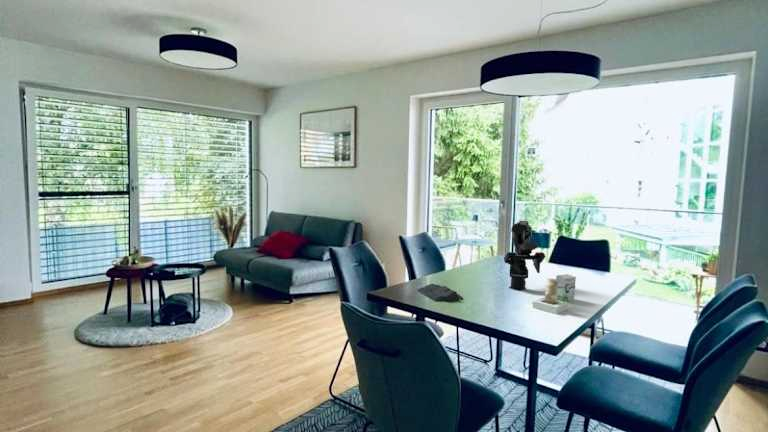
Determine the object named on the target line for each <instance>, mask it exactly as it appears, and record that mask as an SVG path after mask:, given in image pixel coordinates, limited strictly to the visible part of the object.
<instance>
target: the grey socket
mask: <svg viewBox="0 0 768 432" xmlns="http://www.w3.org/2000/svg"><path fill="white" fill-rule="evenodd" d="M532 309H536V310H540V311H544V312H547V313H551V314H554V315H558V314H560V313H562V312H565V311H567V310H569V302H568V301H566V302H563V301H559V300H557V304H556V305H552V304H548V303H545V296H544V297H542V298H538V299H534V300H533V301H532Z"/></svg>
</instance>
